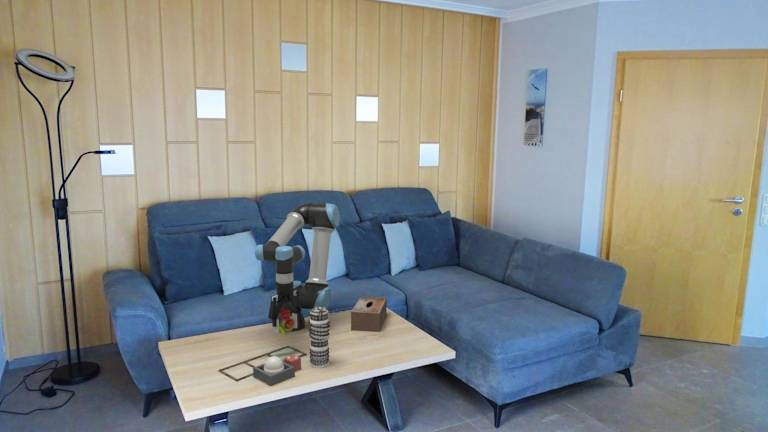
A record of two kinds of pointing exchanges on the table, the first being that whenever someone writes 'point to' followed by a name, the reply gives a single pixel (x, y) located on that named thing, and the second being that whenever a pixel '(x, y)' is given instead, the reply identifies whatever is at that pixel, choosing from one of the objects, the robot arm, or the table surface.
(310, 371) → the table surface
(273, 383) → the dome housing
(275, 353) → the frame
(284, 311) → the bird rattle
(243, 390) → the table surface
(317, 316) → the decorative candle
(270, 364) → the dome
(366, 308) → the tissue box cover
